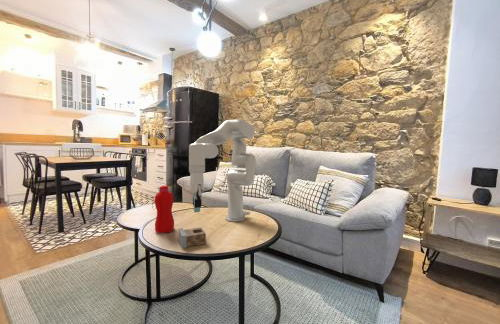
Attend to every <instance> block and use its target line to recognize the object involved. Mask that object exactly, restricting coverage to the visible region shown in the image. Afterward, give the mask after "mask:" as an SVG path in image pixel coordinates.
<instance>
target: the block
mask: <svg viewBox="0 0 500 324" xmlns="http://www.w3.org/2000/svg"><path fill="white" fill-rule="evenodd" d="M183 230H184V232H185V234H186V237H187V248H189V247H193V246H199V245H204V244H207V243H206V242H207V239H206V238H207V236H206V235H207V234H206V231H205V230H204V229H203V228H202V227H195V228H189V229H188V228H187V229H186V228H185V229H183Z"/></svg>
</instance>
